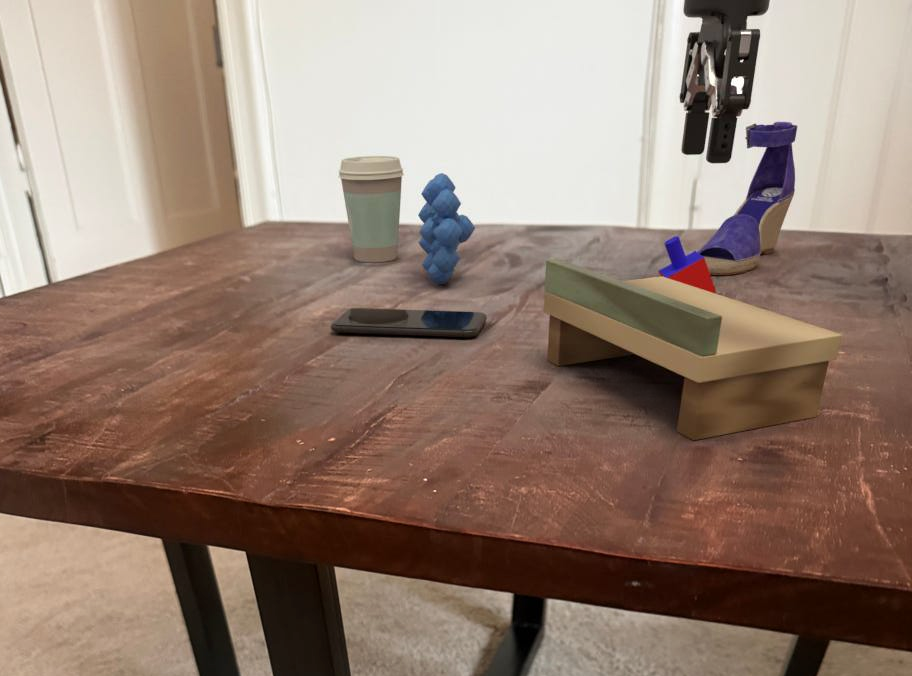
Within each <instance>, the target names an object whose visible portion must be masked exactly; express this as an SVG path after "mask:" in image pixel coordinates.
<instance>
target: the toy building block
mask: <svg viewBox="0 0 912 676" xmlns="http://www.w3.org/2000/svg"><path fill="white" fill-rule="evenodd" d="M681 242H682V241H681V239H680V237H679V236H678V235H677V236H673V237H670V238H669V239H668V240H666V241H665V242H664V247H665V250H666V252H667V256H668V258H669V260H670V264H668V265H667V266H665V267H663V268H661V269H659V270H658V275H659V277H660V276H662V277H665V278H668V279H672V280H675V281H678V282H681V283H684V284H687V285H690V286H693V287H696V288H699V289H703V290H706V291H709V292H712V293H715V294H718V293H717V290H716V287H715V284H714V281H713V279H712V275H710V273H709V270H708V267H707V264H706V261H705V258H704V257H703V256H702V255H700V254H699V253H697V252H698V251H696V250H694V251H692V252H690V253H688V254H686V253H685V250H684V248H683V244H682V243H681Z"/></svg>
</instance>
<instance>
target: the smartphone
mask: <svg viewBox="0 0 912 676" xmlns="http://www.w3.org/2000/svg"><path fill="white" fill-rule="evenodd" d="M487 319H488V318H487V314H486V313H485V312H482V311H481V312H480V311H462V310H461V311H459V310H428V309H399V308H398V309H397V308H370V307H368V308H365V307H352V308H348V309H347V310H345V311H344V312H343V313H342V314H341V315H340V316H339V317H337V318H336V319H335V320H334V321H333V322H332V323H331V324H330V329H331V331H332V332H335V333H343V334H344V333H345V334H367V335H369V334H371V335H395V336H396V335H398V336H418V337H419V336H421V337H422V336H423V337H444V338H445V337H446V338H449V337H450V338H473V337H476V336H477V335H478V334H479V333H480V332H481V330H482V328H483V326H484V324H485V323H486V321H487Z"/></svg>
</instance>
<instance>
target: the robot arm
mask: <svg viewBox="0 0 912 676" xmlns="http://www.w3.org/2000/svg"><path fill="white" fill-rule="evenodd" d="M770 2H771V0H684V1H683V11H682V12H683V14H684V16H685V17H686V18H691V19H693V18H695V19H696V18H700V19H701V26H700V29H699V31H690V32H689V34H688V37H687V40H686V42H687V43H686V50H685V58H684V65H683V72H682V78H681V79H682V80H681V86H680V92H679V97H678V98H679V103H680V104H682V105H683V111H684V112H685V118H684V126H683V132H682V133H683V134H682V141H681V147H680V148H681V149H680V151H681V153H682V154H683V155H685V156H692V155H693V156H696V155H697V156H699V155H702V154H703V153H704V152H705V146H706V141H707V134H708V126H709V119H711V120H710V127H709V135H708V141H707V147H706V155H705V160H706V162H708V163H709V164H728V163H729V162H730V161H731V159H732V156H733V149H734V143H735V136H736V129H737V124H738V123H737V122H738V117H741V115H742V113H743V110H749V108H750V106H751V102H752V94H753V86H754V79H755V75H756V74H755V73H756V67H757V61H758V60H757V59H758V53H759V45H760V40H761V29H759V28H748V17H759V16H763V15H765V14H766V13H767V12H768V10H769V8H770ZM710 110H711V115H712V117H711V118H710V112H708V111H710Z"/></svg>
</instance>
